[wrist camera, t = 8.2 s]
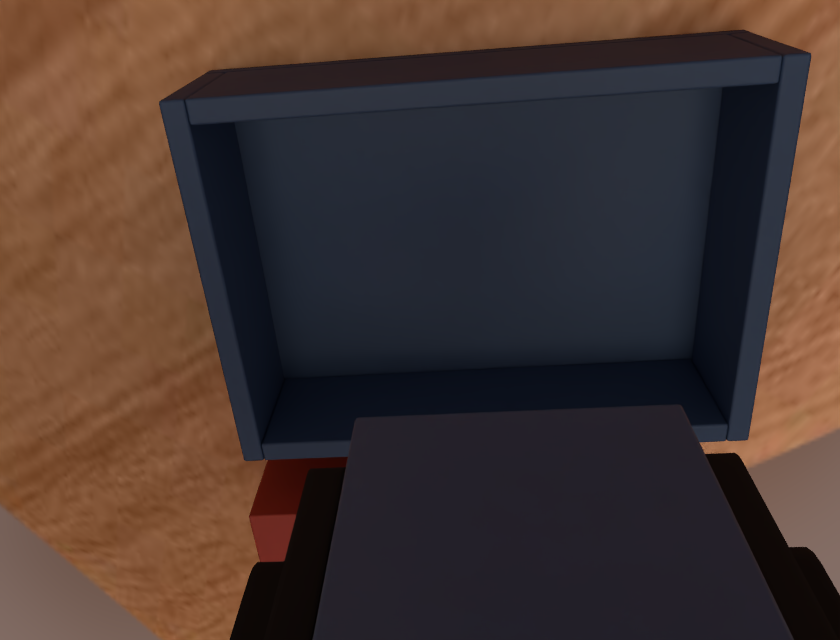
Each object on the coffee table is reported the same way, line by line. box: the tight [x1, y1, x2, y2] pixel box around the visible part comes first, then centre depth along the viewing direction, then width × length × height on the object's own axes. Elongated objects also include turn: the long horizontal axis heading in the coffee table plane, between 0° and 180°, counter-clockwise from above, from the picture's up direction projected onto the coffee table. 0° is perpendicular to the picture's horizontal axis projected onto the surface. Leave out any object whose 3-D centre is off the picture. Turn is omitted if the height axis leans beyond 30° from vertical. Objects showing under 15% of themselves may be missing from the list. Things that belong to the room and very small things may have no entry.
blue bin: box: [159, 30, 811, 461], centre depth 20 cm, size 14×10×4 cm
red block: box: [249, 457, 348, 562], centre depth 24 cm, size 4×4×4 cm
